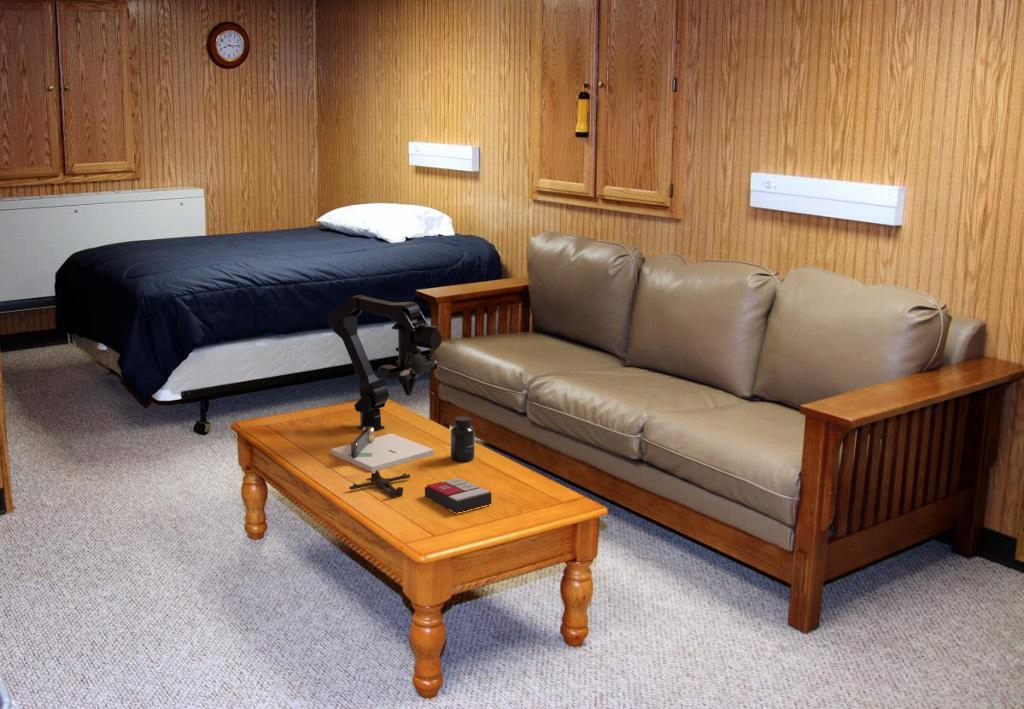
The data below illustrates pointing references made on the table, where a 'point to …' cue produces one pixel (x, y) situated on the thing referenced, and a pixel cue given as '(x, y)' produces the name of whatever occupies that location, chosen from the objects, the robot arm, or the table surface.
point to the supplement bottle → (462, 440)
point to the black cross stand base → (383, 484)
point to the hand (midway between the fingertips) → (408, 395)
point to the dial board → (384, 452)
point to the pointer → (362, 440)
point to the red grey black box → (458, 495)
